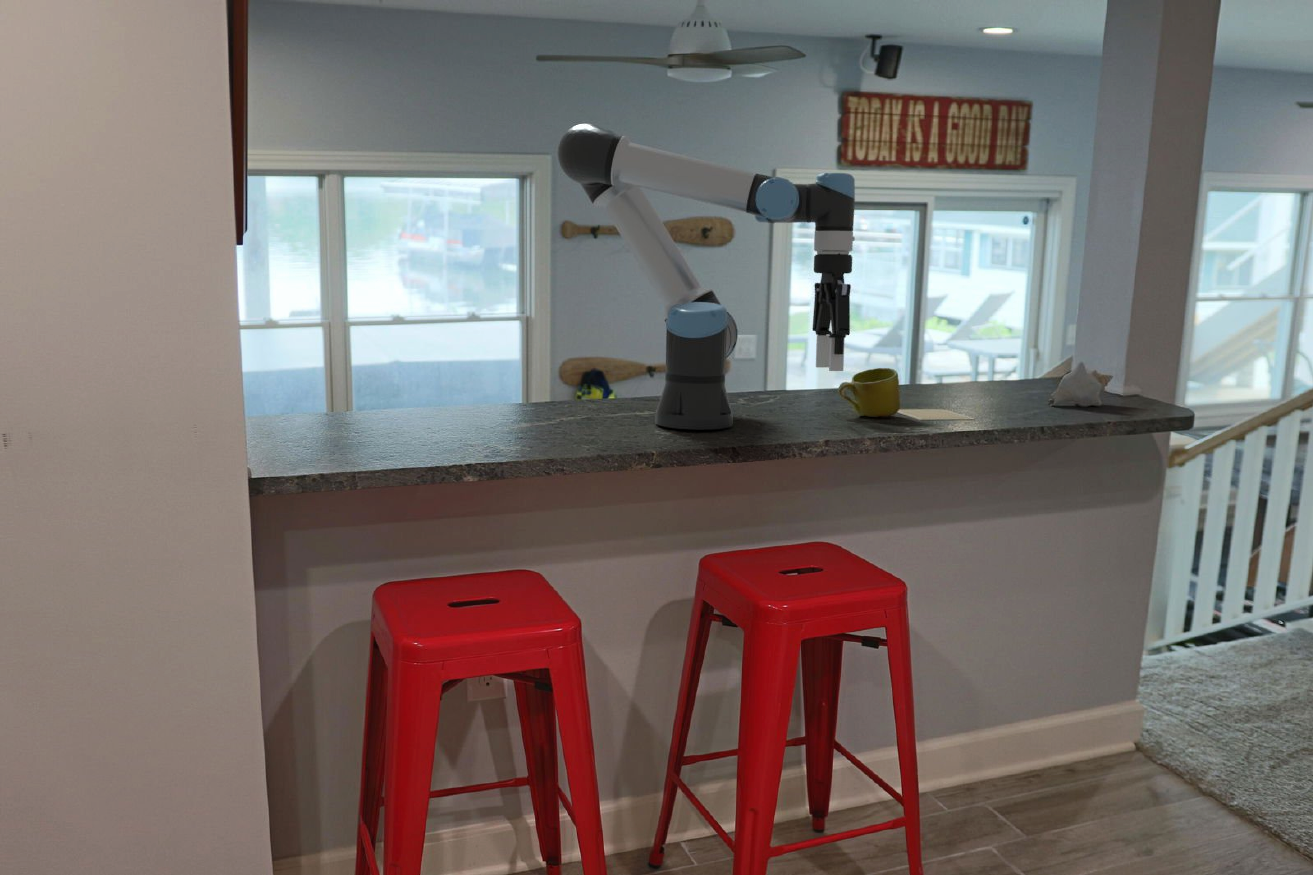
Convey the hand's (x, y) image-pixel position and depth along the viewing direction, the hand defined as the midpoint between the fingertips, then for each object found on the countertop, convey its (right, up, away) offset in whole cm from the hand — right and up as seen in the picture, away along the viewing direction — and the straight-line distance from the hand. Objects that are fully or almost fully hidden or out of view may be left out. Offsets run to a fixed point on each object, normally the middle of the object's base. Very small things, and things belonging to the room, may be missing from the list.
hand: (829, 368), depth 222 cm
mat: (+22, -9, +7) cm, 25 cm away
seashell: (+55, -9, +23) cm, 61 cm away
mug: (+10, -9, +4) cm, 14 cm away
